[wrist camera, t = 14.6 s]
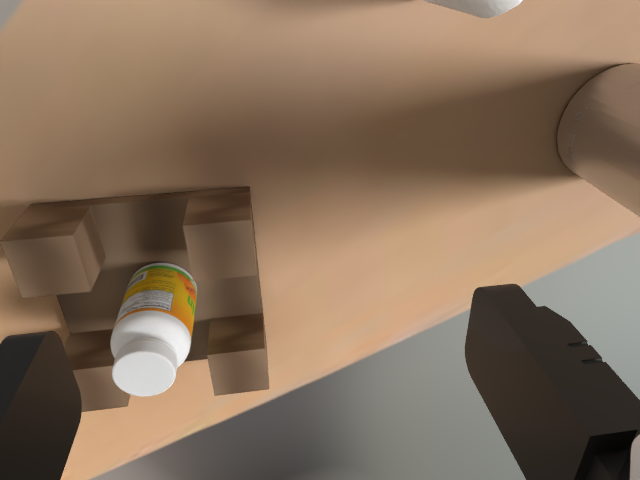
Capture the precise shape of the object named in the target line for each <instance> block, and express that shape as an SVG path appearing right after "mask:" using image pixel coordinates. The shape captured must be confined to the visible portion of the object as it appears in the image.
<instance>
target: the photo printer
mask: <svg viewBox="0 0 640 480" xmlns="http://www.w3.org/2000/svg"><path fill="white" fill-rule="evenodd" d="M425 1H426V2H429V3H433V4H436V5H440V6H443V7H447V8H450V9H454V10H457V11H461V12H464V13H467V14H471V15H474V16H477V17H480V18H491V17H495V16H498V15H500V14H503V13H505V12H507V11H509V10H510V9H512V8H514V7H516V6H517V5H519V4H520V3H521V1H522V0H425Z"/></svg>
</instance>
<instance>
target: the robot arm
mask: <svg viewBox="0 0 640 480" xmlns="http://www.w3.org/2000/svg"><path fill="white" fill-rule="evenodd" d="M557 145H558V152H559V154H560V157H561V160H562V161H563V162H564V164H565V165H566V167H567V168H569V169H570V170H571V171H572V172H574V173H575V174H577V175H578V176H580V177H581V178H583V179H584V180H586V181H587V182H589V183H590V184H592V185H593V186H595V187H596V188H598V189H599V190H600V191H602V192H603V193H605V194H606V195H608V196H609V197H611V198H612V199H614V200H615V201H617V202H618V203H620V204H621V205H623V206H624V207H626V208H627V209H629V210H630V211H632V212H633V213H635V214H636V215H638V216H639V217H640V64H623V65H619V66H616V67H612V68H610V69H608V70H606V71H603V72H601V73H599V74H598V75H596V76H595V77H594V78H592V79H591V80H589V81H588V82H587V83H586V84H585V85H584V86H583V87H582V88H581V89H580V90H579V91H578V92H577V93H576V94H575V96H574V97H573V98H572V100H571V101H570V102H569V104H568V106H567V108H566V109H565V111H564V113H563V115H562V118H561V121H560V124H559V127H558V135H557ZM465 358H466V363H467V367H468V371H469V373H470V375H471V378H472V380H473V381H474V383H475V385H476V387H477V389H478V391H479V393H480V394H481V396H482V398H483V400H484V402H485V403H486V406H487V407H488V409H489V411H490V413H491V415H492V417H493V419H494V420H495V422H496V424H497V426H498V428H499V430H500V432H501V433H502V435H503V437H504V439H505V441H506V443H507V445H508V446H509V448H510V450H511V452H512V454H513V455H514V458H515V459H516V461H517V463H518V465H519V467H520V469H521V471H522V472H523V474H524V476H525V478H526V480H640V400H639V399H638V398H637V397H636V396H635V395H634V394H633V392H632V391H631V390H630V389H629V388H628V387H627V385H626V384H625V383H624V382H622V380H621V379H620V378H619V376H618V375H617V374H616V373H615V372H614V371H613V370H612V369H611V367H610V366H609V365H608V364H607V363H606V362H603V361H602V357H601V356H600V355H599V354H598V353H597V352H596V350H594V348H593V347H592V346H591V345H589V346H588V344H587V340H586V339H585V338H584V337H583V336H582V335H581V334H580V333H579V331H578V330H577V329H576V328H575V327H574V326H573V325H572V323H571V322H570V321H568V320H567V319H565V318H563V317H562V316H560V315H559V314H557V313H555V312H554V311H552V310H551V309H549V308H547V307H546V306H541V307H536V305H535V304H534V303H533V302H532V301H531V299H530V298H529V297H528V296H527V295H526V294H525V292H524V291H523V290H522V289H521V288H520V286H518V285H517V284H506V285H497V286H487V287H479V288H477V289H476V290H475V291H474V294H473V298H472V305H471V311H470V318H469V324H468V330H467V336H466V343H465ZM81 411H82V400H81V393H80V389H79V386H78V384H77V381H76V378H75V376H74V373H73V370H72V368H71V365H70V363H69V360H68V357H67V355H66V352H65V349H64V347H63V344H62V341H61V339H60V337H59V335H58V334H57V333H56V332H54V331H48V332H39V333H29V334H20V335H11V336H8V337H6V338H5V339H4V340H3V341H2V343H1V344H0V480H60V479H61V476H62V473H63V470H64V467H65V464H66V462H67V459H68V456H69V453H70V450H71V447H72V444H73V441H74V438H75V435H76V432H77V429H78V426H79V423H80V419H81Z"/></svg>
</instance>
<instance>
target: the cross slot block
mask: <svg viewBox="0 0 640 480" xmlns="http://www.w3.org/2000/svg"><path fill="white" fill-rule="evenodd" d="M0 243H1V246H2V248H3V251H4V253H5V256H6V258H7V261H8V263H9V266H10V268H11V270H12V273H13V275H14V278H15V280H16V283H17V285H18V288H19V290H20V293H21V295H22V298H30V297H40V296H50V295H57V298H58V301H59V303H60V306H61V309H62V312H63V314H64V317H65V320H66V323H67V325H68V328H69V331H70V336H69V338H68V340H67V342H66V345H65V347H64V349H65V352H66V355H67V357H68V360H69V363H70V365H71V368H72V370H73V373H74V376H75V378H76V381H77V384H78V386H79V389H80V393H81V400H82V411H81V412H86V411H94V410H102V409H111V408H119V407H127V406H128V402H129V398H130V394H129V393H126V392H125V391H123V390H121V389H120V388H119V387H118V386H117V385H116V384H115V382H114V380H113V377H112V368H113V365H114V360H115V358H114V356H113V354H112V351H111V346H110V342H111V336H112V332H113V329H114V326H115V323H116V320H117V317H118V314H119V311H120V308H121V305H122V302H123V299H124V296H125V293H126V290H127V287H128V284H129V282H130V280H131V278H132V276H133V275H134V274H135V273H136V272H137V271H138V270H139V269H141V268H142V267H144V266H147V265H149V264H153V263H169V264H174V265H177V266H179V267H181V268H183V269H184V270H186V271H187V272H188V273H189V274H190V275H191V276H192V278H193V281H195V283H196V286H197V300H196V307H195V315H194V323H193V331H192V339H191V346H190V350H189V353H188V356H187V358H186V359H185V361H193V360H202V359H208V363H209V368H210V373H211V379H212V384H213V389H214V394H215V396H217V395H226V394H234V393H242V392H250V391H258V390H267V389H269V377H268V361H267V346H266V336H265V326H264V317H263V308H262V298H261V289H260V280H259V270H258V261H257V252H256V242H255V233H254V223H253V214H252V205H251V195H250V187H241V188H229V189H216V190H204V191H191V192H179V193H166V194H154V195H141V196H128V197H116V198H103V199H91V200H78V201H66V202H53V203H41V204H31V205H30V206H29V207H28V208H27V209H26V211H25V212H24V213H23V214H22V216H21V217H20V218H19V219H18V220H17V222H16V223H15V224H14V225H13V226H12V228H11V229H10V230H9V231H8V232H7V234H6V235H5V236H4V237H3V238H2V240H1V241H0Z"/></svg>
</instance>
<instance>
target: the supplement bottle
mask: <svg viewBox="0 0 640 480" xmlns="http://www.w3.org/2000/svg"><path fill="white" fill-rule="evenodd" d="M196 300H197V286H196V283H195V281H193V278H192V276H191V275H190V274H189V273H188V272H187V271H186V270H184V269H183V268H181V267H179V266H177V265H174V264H169V263H153V264H149V265H147V266H144V267H142V268H141V269H139V270H138V271H137V272H136V273H135V274H134V275H133V276H132V278H131V280H130V282H129V284H128V287H127V290H126V293H125V296H124V299H123V302H122V305H121V308H120V311H119V314H118V317H117V320H116V323H115V326H114V329H113V332H112V336H111V342H110V346H111V351H112V354H113V356H114V358H115V360H114V365H113V368H112V377H113V380H114V382H115V384H116V385H117V386H118V387H119V388H120V389H121V390H123V391H125V392H126V393H129V394H132V395H135V396H154V395H157V394H160V393H162V392H164V391H166V390H167V389H168V388H169V387H170V386H171V385H172V384H173V382H174V380H175V376H176V371H177V368H178V367H179V366H180V365H181V364H182V363H183V362H184V361H185V359H186V358H187V356H188V353H189V350H190V346H191V339H192V331H193V323H194V315H195V307H196Z"/></svg>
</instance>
